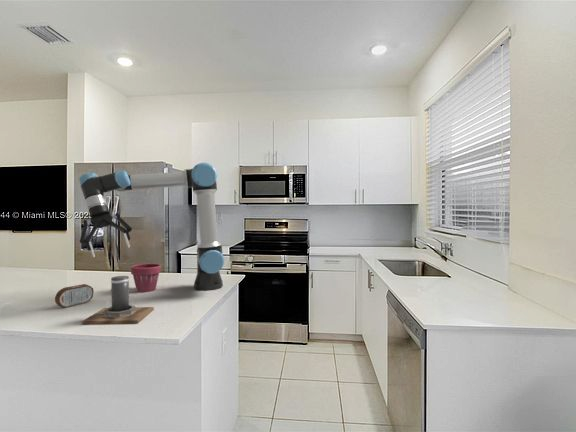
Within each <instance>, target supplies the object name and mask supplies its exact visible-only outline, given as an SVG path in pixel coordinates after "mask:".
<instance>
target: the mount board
mask: <svg viewBox="0 0 576 432" xmlns="http://www.w3.org/2000/svg"><path fill="white" fill-rule="evenodd" d="M154 310H155V307H154V306H135V305H133V304H129V310H125V311H121V312H112V306H109V307H103V308H102V309H100V310H99V311H97V312H95V313H93V314H92V315H90V316H88V317H86V318H84V319H83V320H81V325H116V324H117V325H120V324H121V325H122V324H123V325H125V324H126V325H129V324H139V323H140V322H142V321H143V319H145V318H146V317H147V316H149V315H150V314H151V313H152V312H153V311H154Z"/></svg>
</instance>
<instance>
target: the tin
mask: <svg viewBox="0 0 576 432" xmlns="http://www.w3.org/2000/svg"><path fill="white" fill-rule="evenodd" d="M94 293H95V291H94V288H93V287H92V286H91V285H88V284H86V283H84V284H78V285H72V286H65V287H63V288H61V289H60V290H58V291H57V292H56V295H55V297H54V302H55V304H56V306H59V307H62V308H69V307H74V306H78V305H83V304H86V303H88V302H89V301H91V300H92V298H93V297H94Z"/></svg>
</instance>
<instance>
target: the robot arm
mask: <svg viewBox="0 0 576 432" xmlns="http://www.w3.org/2000/svg"><path fill="white" fill-rule="evenodd" d="M217 178H218V173H217V170H216V168H215V166H213V165H212V164H211V163H209V162H208V163H207V162H200V163H197V164H195V165H194V166H193V167H192V168H190V169H189V168H188V169H187V168H186V169H184V170H183V171H174V172H158V173H142V174H141V173H139V174H128V173H127V170H119V171H118V170H117V171H115V172H111V173H108V174H103V175H102V176H99V175H98V174H97V173H94V172H90V173H88V172H87V173H84V174H82V175H81V176H80V177H79V179H78V181H79V184H80V189H81V191H82V195H83V197H84V200H85V204H86V207H87V209H88V213H89V216H90V219H88V220H86V219H84V220H83V228H82V232H81V234H80V238H79V244H83V245H84V244H85V246H86V248H87V251H88V252H90V251H91V255H92V257H93V259H95V258H96V254H95V251H94V248H93V243H92V241H91V240H92V238H93V236H94V235H95V233H96V231H97V230H98V228H99V229H102V228H108V227H109V226H110V227H113V228H114V229H116V230H118V231H120V232H121V233H123V237H124V241H125V244H126V247H127V249H130V248H131V244H130V240H131V236H130V233H131V232H132V230H133V228H132V227H131V226H130V225H129V223H127V222H126V221H125V220H124V219H123V218H122V217H121V216H120V215H119V213H118V212H116V213H114V214H111V212H110V210H109V206H108V203H107V199H106V197H105V195H104V194H106V193H109V192H112V191H116V192H126V191H135V190H137V191H138V190H149V189H150V190H151V189H164V188H176V187H177V188H179V187H185V188H186V189H191V188H192V192H193V194H195V195H196V196H195V197H196V205H197V217H198V227H199V239H200V242H199V244H198V245H197V247H196V248H197V249H196V255H197V257H196V259H197V260H196V262H197V263H196V267H197V269H196V270H197V271H196V275H195V279H194V283H193V289H196V290H199V291H211V290H213V291H214V290H219V289H222V287H223V285H224V284H223V279H222V275H221V272H220V271H221V270H222V268H224V265H225V256H224V254H223V245H222V243H221V242H220V241H219V234H218V233H219V232H218V224H217V211H216V200H215V193H216V192H217V191H218V188H217V184H218V183H217ZM113 219H114V220H117V221H118V222H119V223H120V224H121V225H122V226H121V225H119V224H117V223H116V222H115V221H113ZM90 224H92V225H93V226H92V229H91V230H90V232H89V234H88V235H87V229H88V227H89V226H90ZM86 235H87V237H86Z"/></svg>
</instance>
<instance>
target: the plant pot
mask: <svg viewBox="0 0 576 432" xmlns="http://www.w3.org/2000/svg"><path fill="white" fill-rule="evenodd" d="M130 267H131V268H130V274H131V275H132V277H133V280H134V285H135V289H136V292H139V293H148V292H153V291H155V290H156V288H157V284H158V280H159V275H160V273H161V272H162V265H161V264H159V263H139V264H134V265H131V266H130Z"/></svg>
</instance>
